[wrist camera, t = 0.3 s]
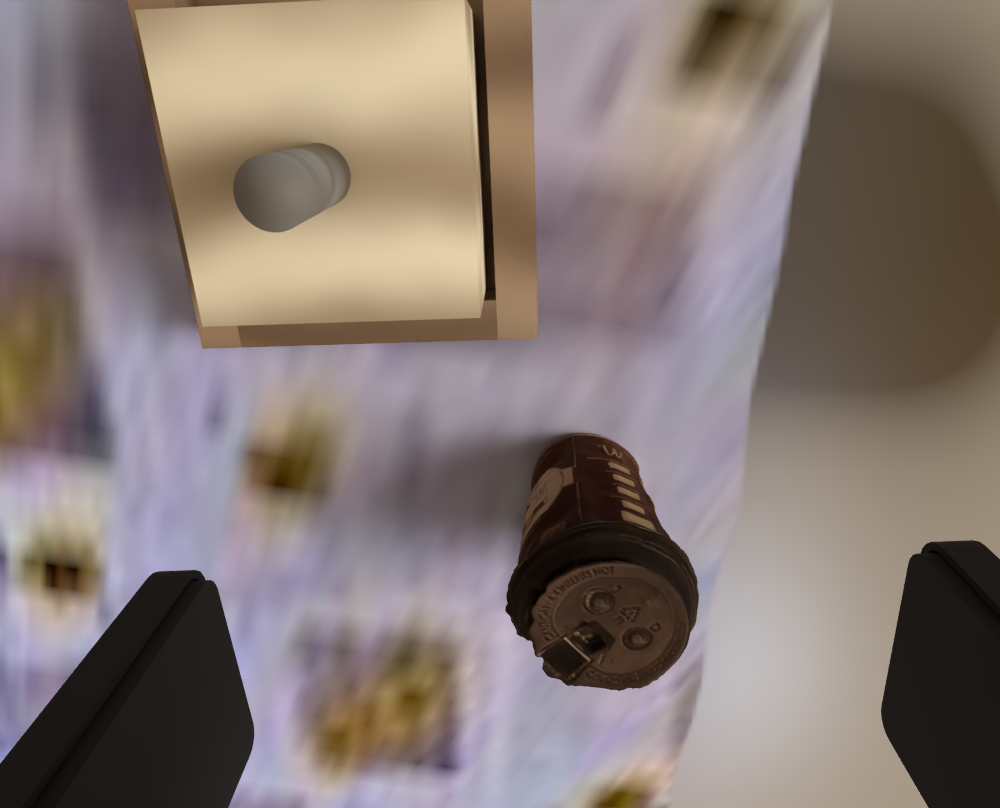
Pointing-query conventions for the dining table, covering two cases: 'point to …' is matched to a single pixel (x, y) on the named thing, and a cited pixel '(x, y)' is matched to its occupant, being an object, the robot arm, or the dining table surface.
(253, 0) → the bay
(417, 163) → the square knob plate
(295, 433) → the dining table surface
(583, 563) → the coffee cup
